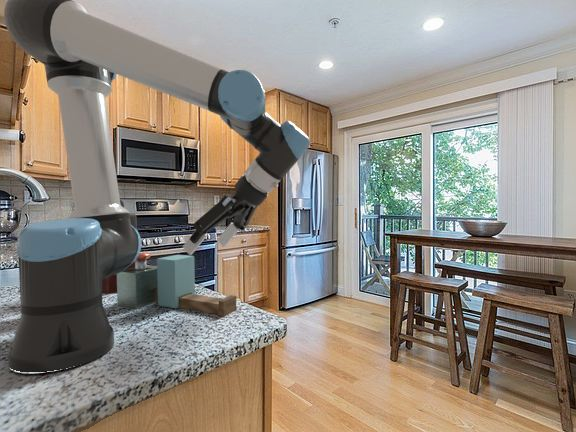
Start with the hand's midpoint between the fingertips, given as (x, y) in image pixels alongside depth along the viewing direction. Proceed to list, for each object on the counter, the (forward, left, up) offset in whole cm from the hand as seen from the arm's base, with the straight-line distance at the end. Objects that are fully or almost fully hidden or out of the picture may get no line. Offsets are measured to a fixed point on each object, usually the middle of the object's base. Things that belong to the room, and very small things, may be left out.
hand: (205, 246), depth 79 cm
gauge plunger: (+2, +19, -9) cm, 21 cm away
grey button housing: (+2, +19, -16) cm, 25 cm away
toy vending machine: (+14, +36, -16) cm, 42 cm away
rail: (+1, +3, -16) cm, 16 cm away
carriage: (+2, +9, -16) cm, 18 cm away
